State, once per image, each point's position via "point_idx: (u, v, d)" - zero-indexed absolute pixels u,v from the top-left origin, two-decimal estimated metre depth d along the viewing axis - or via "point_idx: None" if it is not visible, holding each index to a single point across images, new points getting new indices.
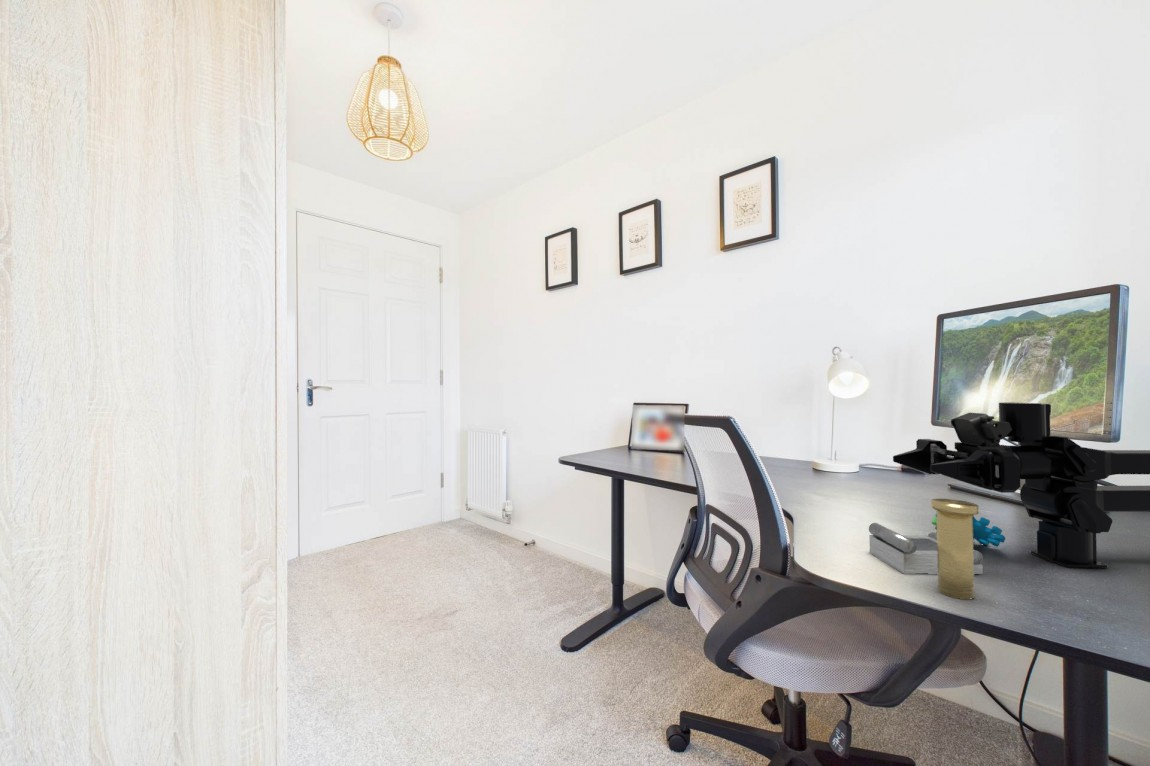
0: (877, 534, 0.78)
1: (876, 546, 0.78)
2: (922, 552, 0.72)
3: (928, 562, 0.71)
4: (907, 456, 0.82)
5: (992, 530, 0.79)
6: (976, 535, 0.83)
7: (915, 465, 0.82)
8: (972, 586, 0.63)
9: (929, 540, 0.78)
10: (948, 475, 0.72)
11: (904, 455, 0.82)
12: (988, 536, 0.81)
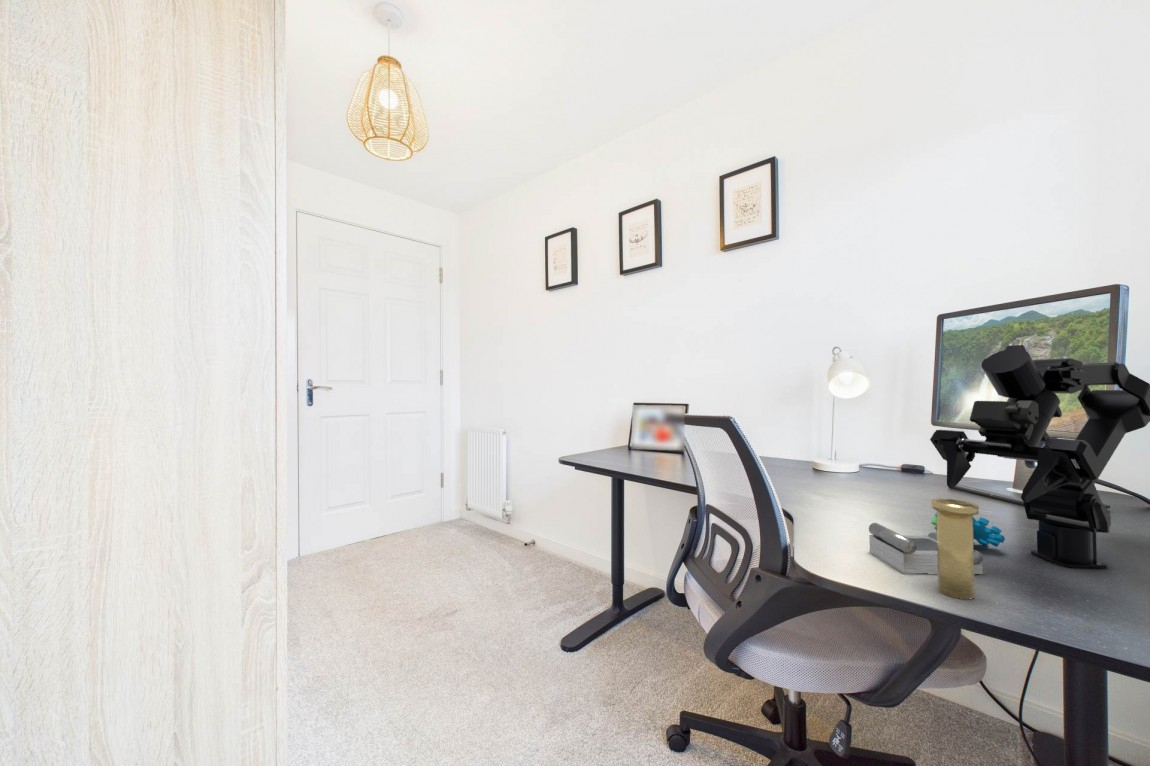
0: (877, 534, 0.78)
1: (876, 546, 0.78)
2: (922, 552, 0.72)
3: (928, 562, 0.71)
4: (955, 473, 0.72)
5: (991, 530, 0.79)
6: (976, 535, 0.83)
7: (962, 473, 0.73)
8: (972, 586, 0.63)
9: (929, 540, 0.78)
10: (1039, 494, 0.63)
11: (953, 475, 0.72)
12: (987, 536, 0.81)
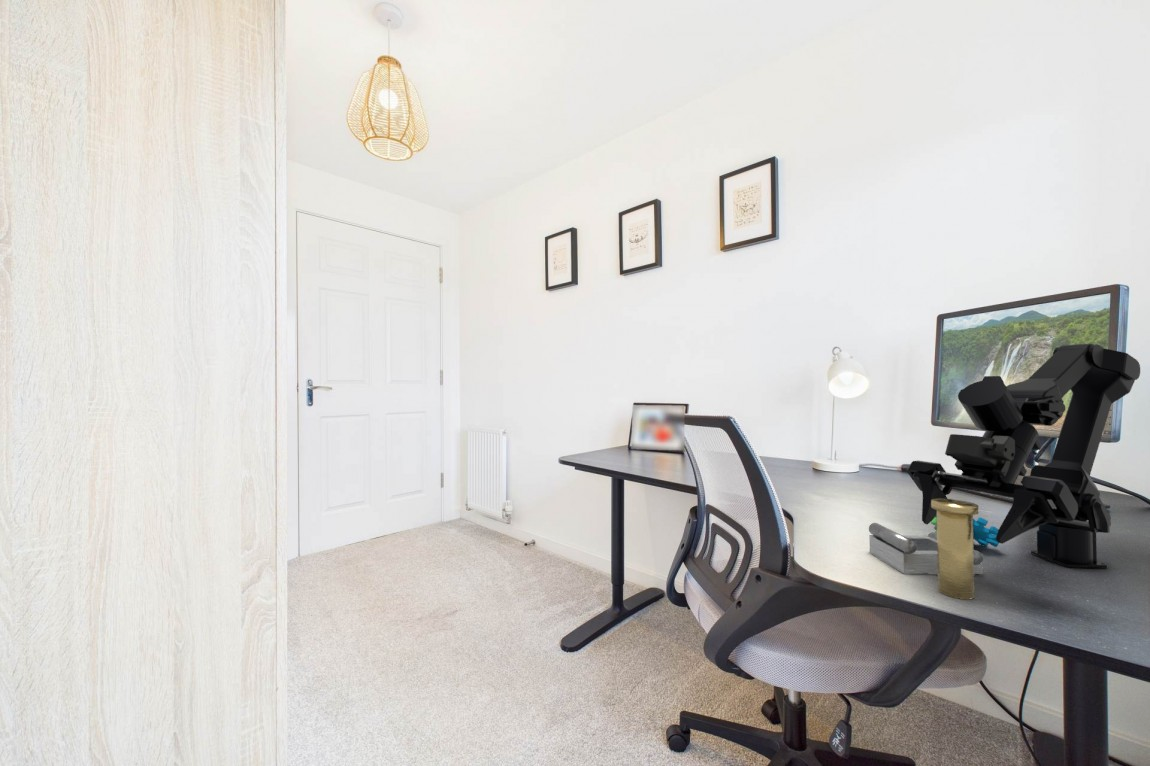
0: (877, 534, 0.78)
1: (876, 546, 0.78)
2: (922, 552, 0.72)
3: (928, 562, 0.71)
4: (930, 508, 0.70)
5: (990, 530, 0.79)
6: (975, 535, 0.83)
7: None
8: (972, 586, 0.63)
9: (929, 540, 0.78)
10: (1015, 535, 0.61)
11: (928, 510, 0.69)
12: (986, 536, 0.81)
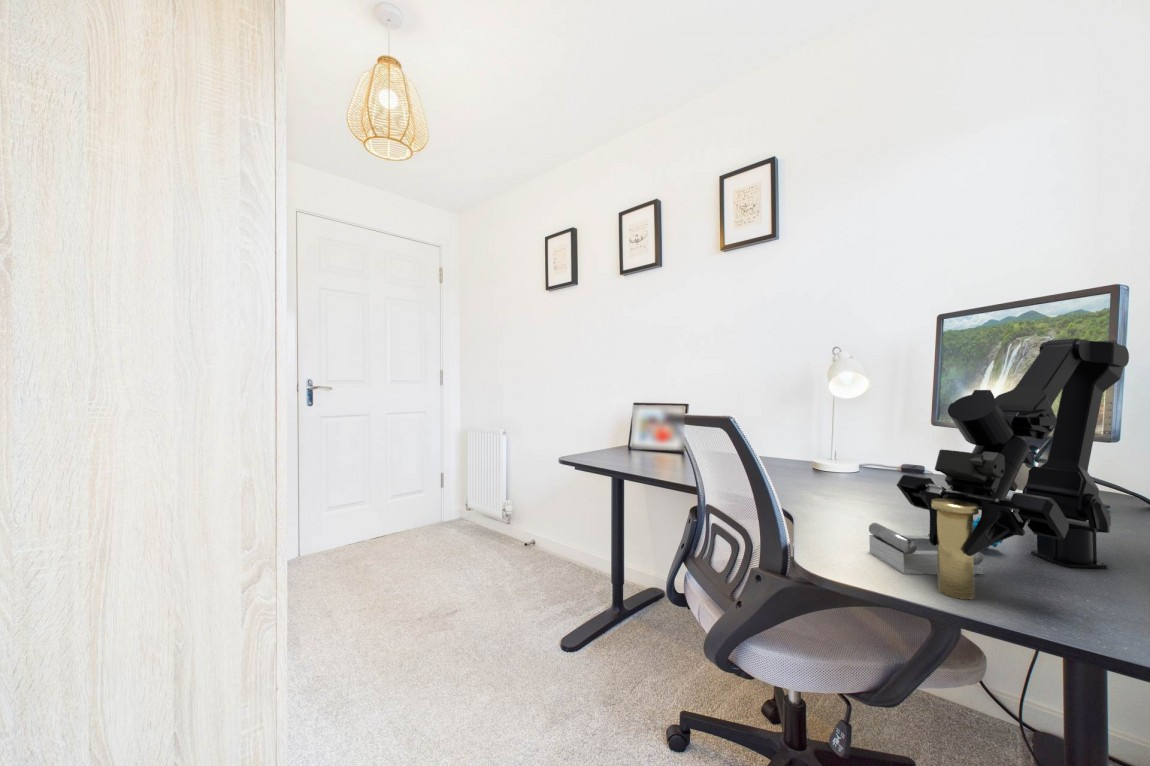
0: (877, 534, 0.78)
1: (876, 546, 0.78)
2: (922, 552, 0.72)
3: (928, 562, 0.71)
4: None
5: None
6: None
7: None
8: (972, 586, 0.63)
9: None
10: (983, 548, 0.62)
11: (936, 531, 0.66)
12: None
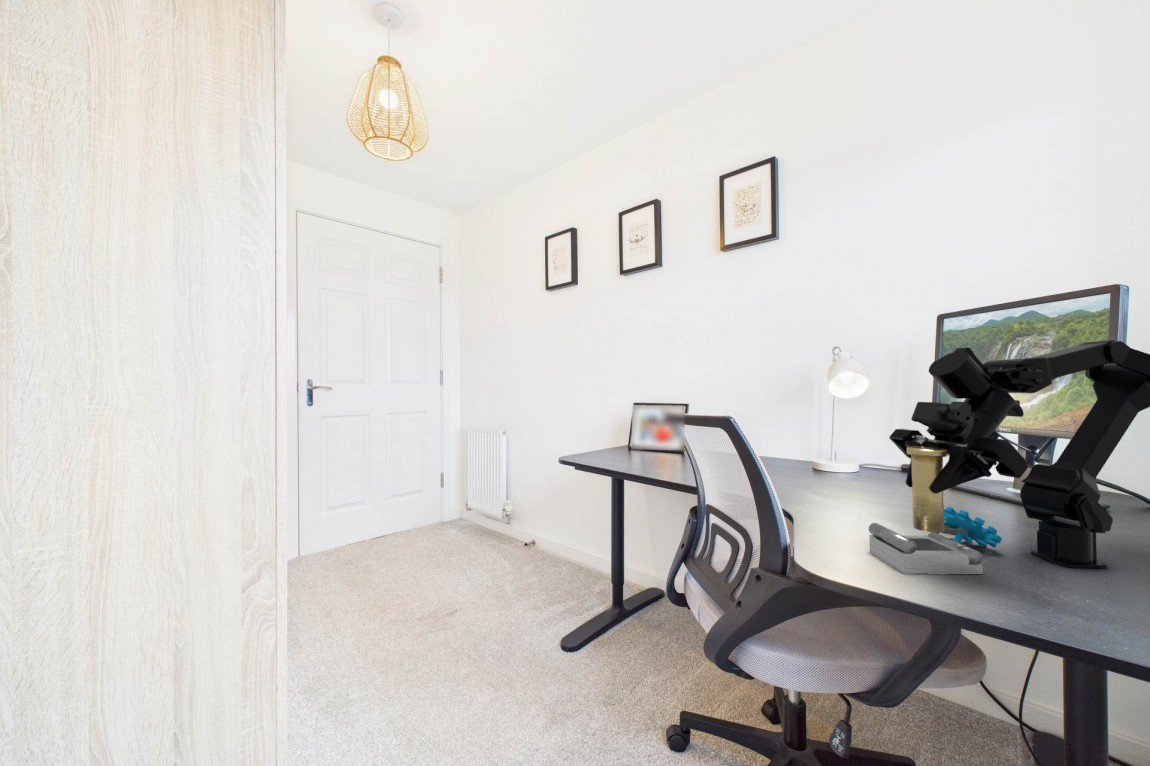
0: (877, 534, 0.78)
1: (876, 546, 0.78)
2: (922, 552, 0.72)
3: (928, 562, 0.71)
4: None
5: (987, 530, 0.79)
6: (973, 535, 0.83)
7: None
8: (940, 521, 0.70)
9: (929, 540, 0.78)
10: (949, 487, 0.69)
11: None
12: (984, 536, 0.80)
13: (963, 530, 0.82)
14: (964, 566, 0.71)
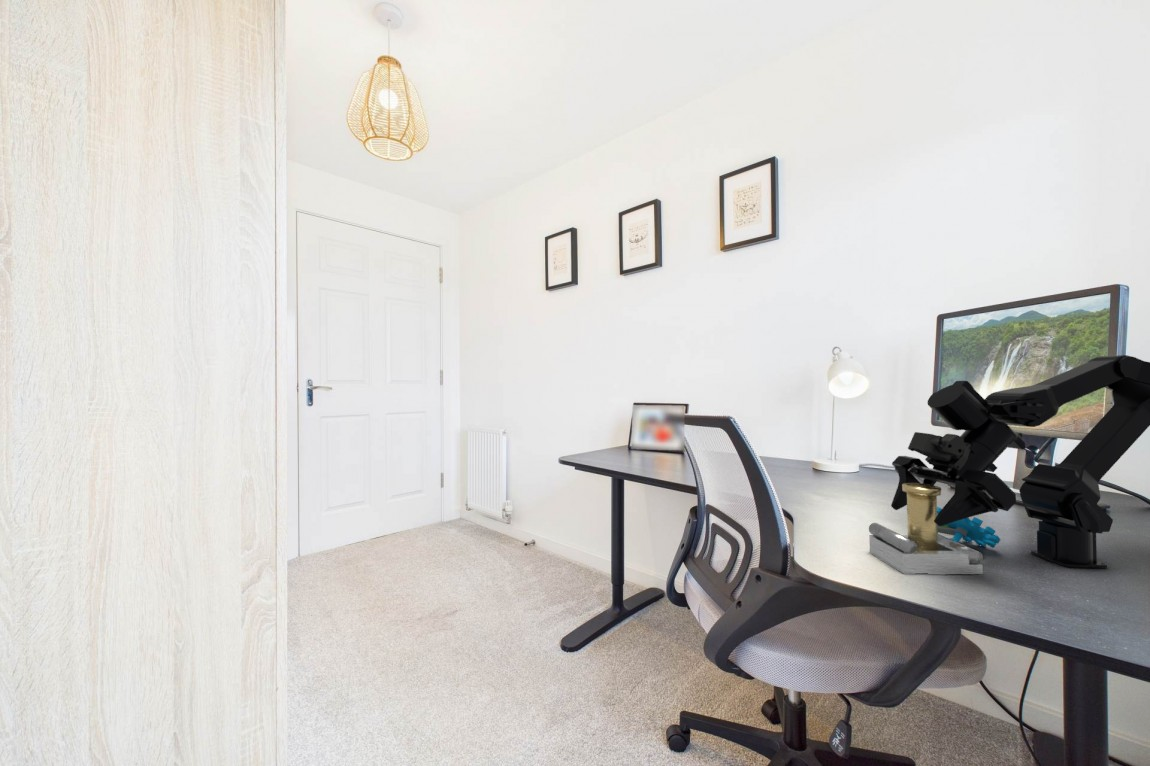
0: (877, 534, 0.78)
1: (876, 546, 0.78)
2: (922, 552, 0.72)
3: (928, 562, 0.71)
4: (901, 496, 0.80)
5: (985, 530, 0.78)
6: (972, 535, 0.82)
7: None
8: None
9: None
10: (954, 520, 0.70)
11: (898, 498, 0.80)
12: (983, 537, 0.80)
13: (961, 530, 0.82)
14: (964, 566, 0.71)
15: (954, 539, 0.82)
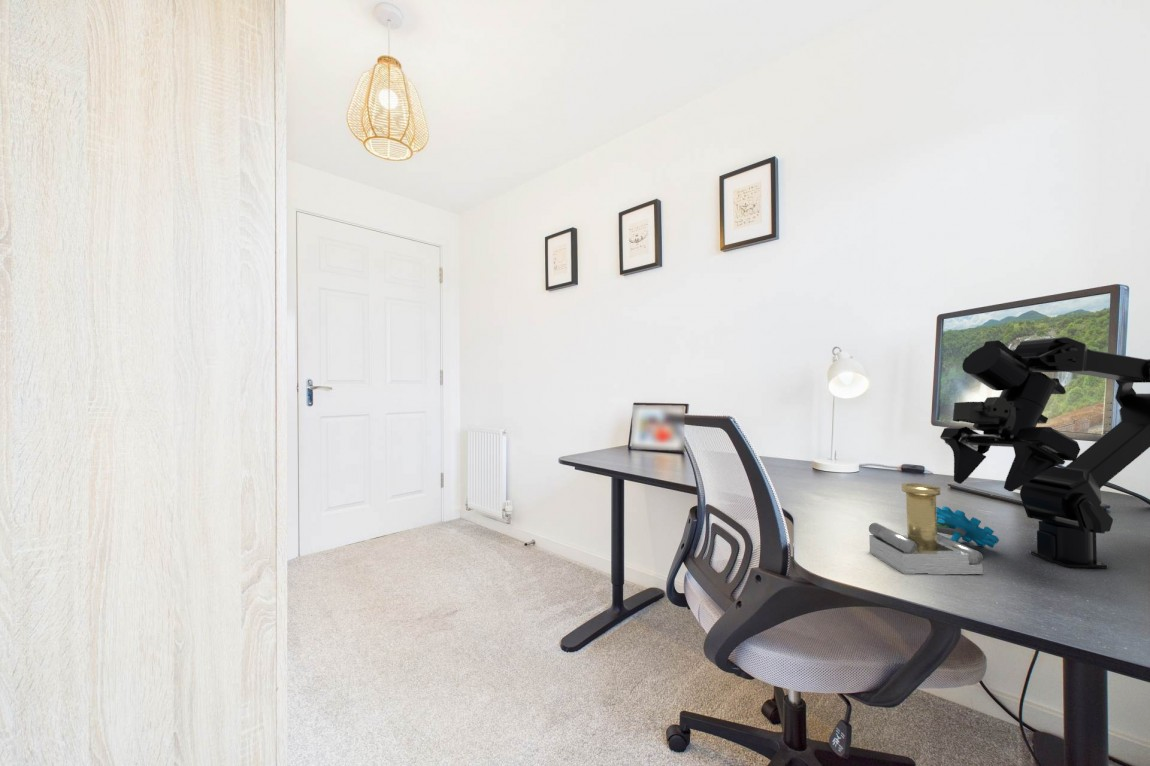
0: (877, 534, 0.78)
1: (876, 546, 0.78)
2: (922, 552, 0.72)
3: (928, 562, 0.71)
4: (961, 469, 0.79)
5: (983, 530, 0.78)
6: (971, 536, 0.82)
7: (972, 466, 0.79)
8: None
9: None
10: (1024, 482, 0.69)
11: (959, 471, 0.78)
12: (982, 537, 0.80)
13: (960, 530, 0.82)
14: (964, 566, 0.71)
15: (952, 539, 0.82)
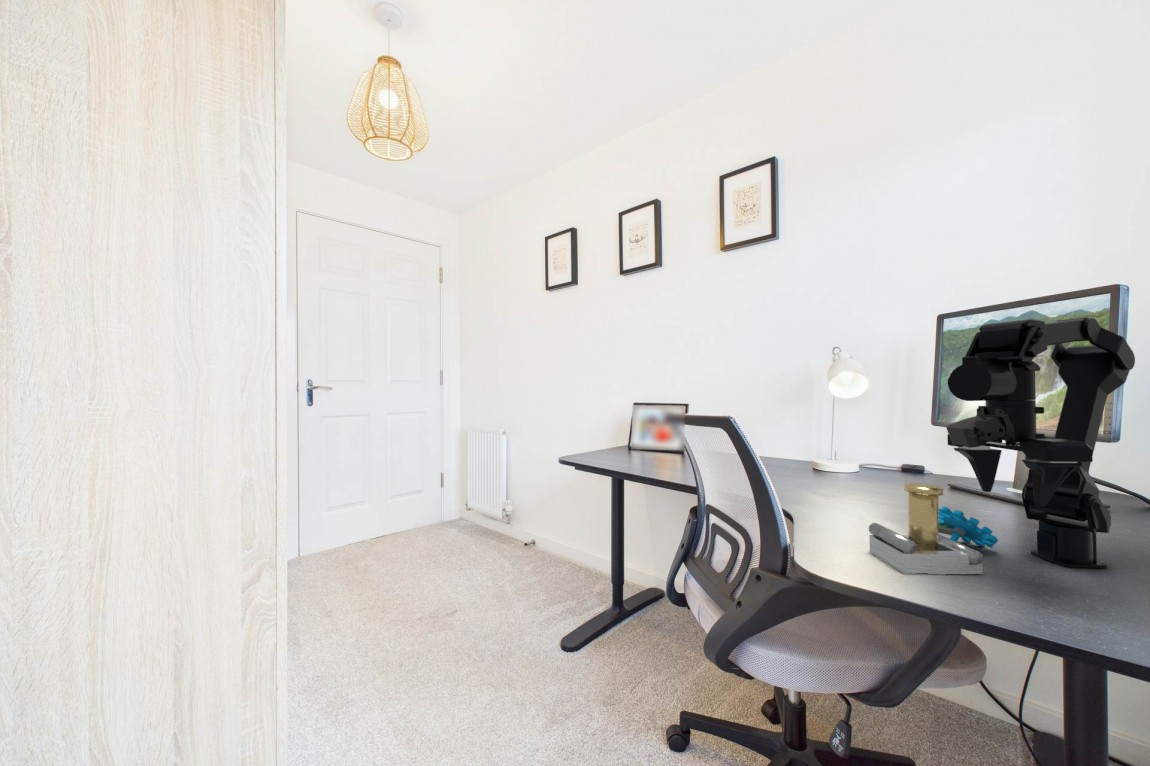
0: (877, 534, 0.78)
1: (876, 546, 0.78)
2: (922, 552, 0.72)
3: (928, 562, 0.71)
4: (984, 477, 0.75)
5: (982, 530, 0.79)
6: (970, 536, 0.82)
7: (993, 468, 0.75)
8: None
9: None
10: (1053, 493, 0.65)
11: (983, 480, 0.75)
12: (981, 537, 0.80)
13: (959, 530, 0.82)
14: (964, 566, 0.71)
15: (951, 539, 0.82)
